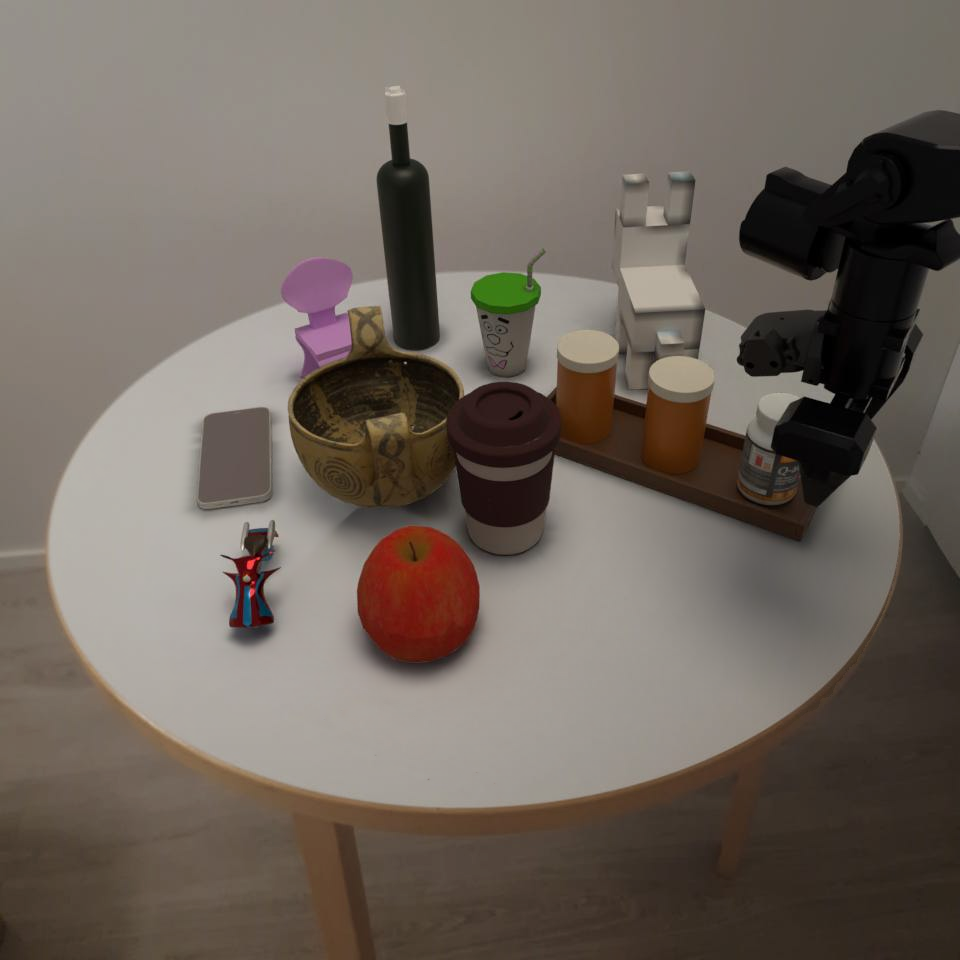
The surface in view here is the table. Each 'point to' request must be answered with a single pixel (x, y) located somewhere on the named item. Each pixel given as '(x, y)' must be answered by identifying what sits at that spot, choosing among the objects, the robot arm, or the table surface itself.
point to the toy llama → (654, 276)
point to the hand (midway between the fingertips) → (828, 471)
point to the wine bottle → (407, 235)
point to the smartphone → (235, 458)
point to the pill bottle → (767, 456)
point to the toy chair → (320, 309)
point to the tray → (701, 485)
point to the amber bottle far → (586, 385)
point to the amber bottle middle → (676, 413)
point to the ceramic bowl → (375, 420)
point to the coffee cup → (504, 463)
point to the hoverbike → (252, 578)
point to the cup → (507, 318)
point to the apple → (418, 595)
